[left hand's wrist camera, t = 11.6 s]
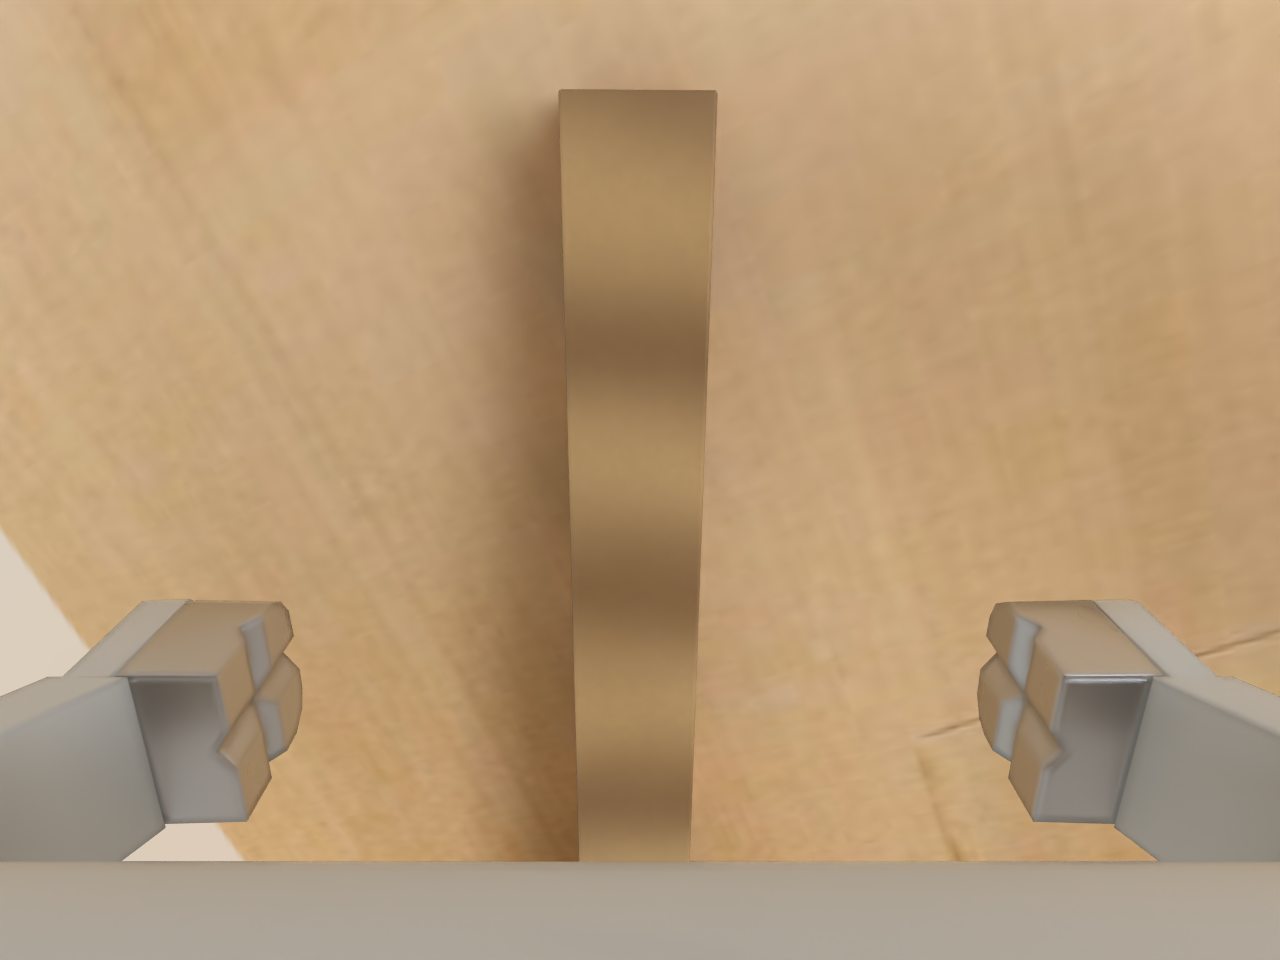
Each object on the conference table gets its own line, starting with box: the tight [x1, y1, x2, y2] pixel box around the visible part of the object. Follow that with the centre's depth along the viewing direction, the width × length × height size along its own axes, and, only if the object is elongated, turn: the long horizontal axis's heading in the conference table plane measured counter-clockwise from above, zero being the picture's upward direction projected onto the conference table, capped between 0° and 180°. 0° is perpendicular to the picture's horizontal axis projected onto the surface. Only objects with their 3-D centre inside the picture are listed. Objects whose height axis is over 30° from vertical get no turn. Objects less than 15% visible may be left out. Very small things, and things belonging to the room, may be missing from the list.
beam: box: [559, 89, 717, 861], centre depth 37 cm, size 50×4×6 cm, turn 0°
